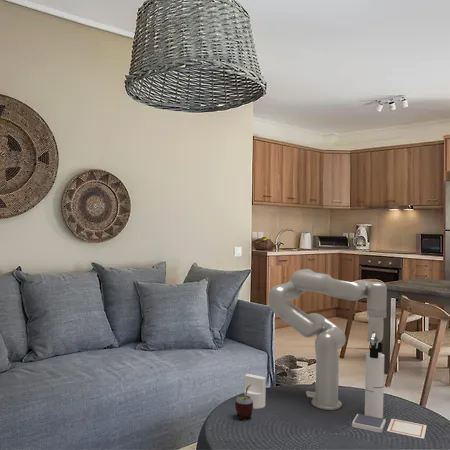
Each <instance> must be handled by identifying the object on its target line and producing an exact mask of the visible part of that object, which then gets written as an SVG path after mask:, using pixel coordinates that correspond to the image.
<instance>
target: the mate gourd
mask: <svg viewBox="0 0 450 450" xmlns="http://www.w3.org/2000/svg"><path fill="white" fill-rule="evenodd" d="M249 386H250V385H249ZM249 386H248V387H247V388H246V393H245V392H244V394H242V395H241V394H240V395H239V396H237V398H236V400H235V404H234V406H235V411H236V417H238V418H239V421H243V420H244V419H248V420H252V414H253V409H254V408H253V400H252V399H251V397H250V396H246V395H247V391H248V388H249Z"/></svg>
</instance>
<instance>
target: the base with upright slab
mask: <svg viewBox="0 0 450 450" xmlns="http://www.w3.org/2000/svg"><path fill="white" fill-rule="evenodd" d="M266 378H267V377H265V376H261V375H256V374H251V373H246V374H245V375H244V394H245V393H246V388H247V387H248V386H249V385H250V386H249V388H248V391H247V395H246V396H250V397H251V399H252V400H253V409H254V410H256V409H257V410H259V409H263V408H265V406H266V402H267V401H266V397H267V395H266V394H267V393H266V392H267V391H266V390H267V388H266V387H267V385H266V384H267V379H266Z"/></svg>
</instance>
